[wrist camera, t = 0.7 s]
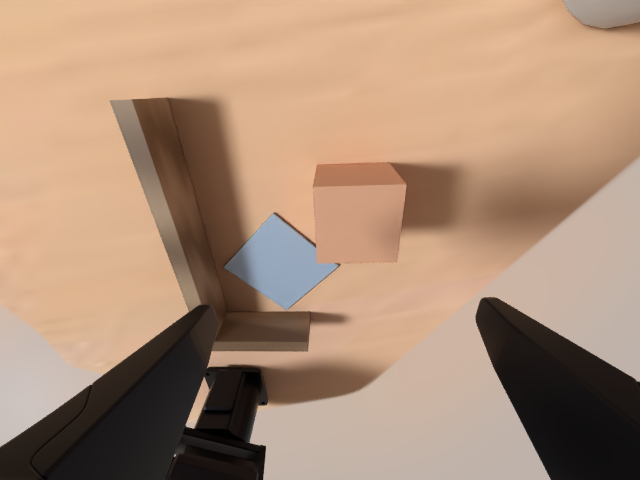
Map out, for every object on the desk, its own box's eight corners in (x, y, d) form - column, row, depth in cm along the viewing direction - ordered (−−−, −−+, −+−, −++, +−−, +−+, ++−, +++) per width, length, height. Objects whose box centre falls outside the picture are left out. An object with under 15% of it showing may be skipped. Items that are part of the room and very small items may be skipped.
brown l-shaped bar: (310, 321, 26) (307, 351, 23) (218, 321, 27) (203, 350, 24) (292, 92, 17) (284, 92, 14) (149, 98, 17) (109, 100, 14)
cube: (383, 226, 21) (397, 262, 17) (319, 227, 21) (316, 263, 17) (388, 162, 19) (406, 184, 14) (317, 164, 19) (312, 186, 14)
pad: (338, 264, 23) (338, 266, 23) (286, 308, 25) (286, 309, 25) (273, 212, 21) (273, 213, 20) (224, 266, 23) (223, 267, 23)
